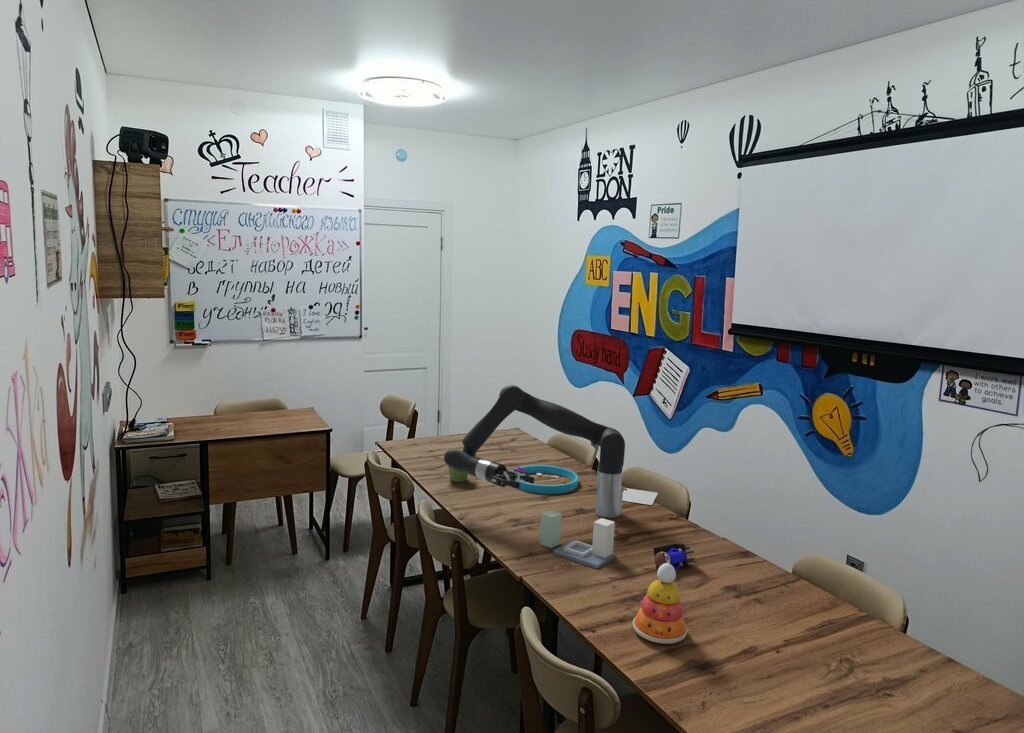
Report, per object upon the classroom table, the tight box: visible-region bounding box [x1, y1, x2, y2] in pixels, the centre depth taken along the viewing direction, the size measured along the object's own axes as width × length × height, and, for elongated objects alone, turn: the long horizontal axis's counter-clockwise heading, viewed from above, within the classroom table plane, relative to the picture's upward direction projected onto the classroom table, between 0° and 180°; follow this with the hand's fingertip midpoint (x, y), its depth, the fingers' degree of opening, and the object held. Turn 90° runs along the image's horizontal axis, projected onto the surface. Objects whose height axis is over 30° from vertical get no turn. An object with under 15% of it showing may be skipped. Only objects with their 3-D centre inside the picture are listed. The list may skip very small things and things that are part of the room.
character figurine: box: [653, 543, 696, 571], centre depth 226 cm, size 8×7×15 cm
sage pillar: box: [539, 509, 563, 549], centre depth 241 cm, size 5×5×11 cm
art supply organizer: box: [511, 464, 579, 495], centre depth 308 cm, size 30×30×6 cm
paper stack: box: [622, 487, 659, 506], centre depth 300 cm, size 23×25×1 cm
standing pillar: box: [592, 517, 616, 558], centre depth 232 cm, size 5×5×11 cm
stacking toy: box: [632, 563, 688, 645], centre depth 185 cm, size 14×14×20 cm
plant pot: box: [448, 466, 469, 483], centre depth 306 cm, size 12×12×11 cm
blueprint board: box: [552, 539, 617, 570], centre depth 233 cm, size 12×17×2 cm
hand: (526, 483), depth 245 cm, fingers open, 8 cm apart
